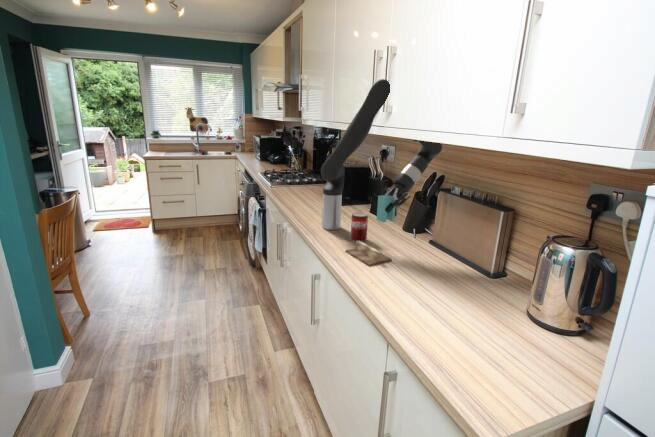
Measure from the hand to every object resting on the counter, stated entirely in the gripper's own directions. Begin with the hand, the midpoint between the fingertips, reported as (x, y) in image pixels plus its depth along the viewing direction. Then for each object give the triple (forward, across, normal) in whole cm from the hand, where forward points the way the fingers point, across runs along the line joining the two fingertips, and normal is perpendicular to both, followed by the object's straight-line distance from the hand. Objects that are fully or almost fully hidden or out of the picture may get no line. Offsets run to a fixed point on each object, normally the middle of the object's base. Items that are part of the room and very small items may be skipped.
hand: (382, 209), depth 139 cm
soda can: (+13, -15, +13) cm, 24 cm away
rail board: (+18, +2, +7) cm, 20 cm away
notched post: (+2, 0, +5) cm, 5 cm away
